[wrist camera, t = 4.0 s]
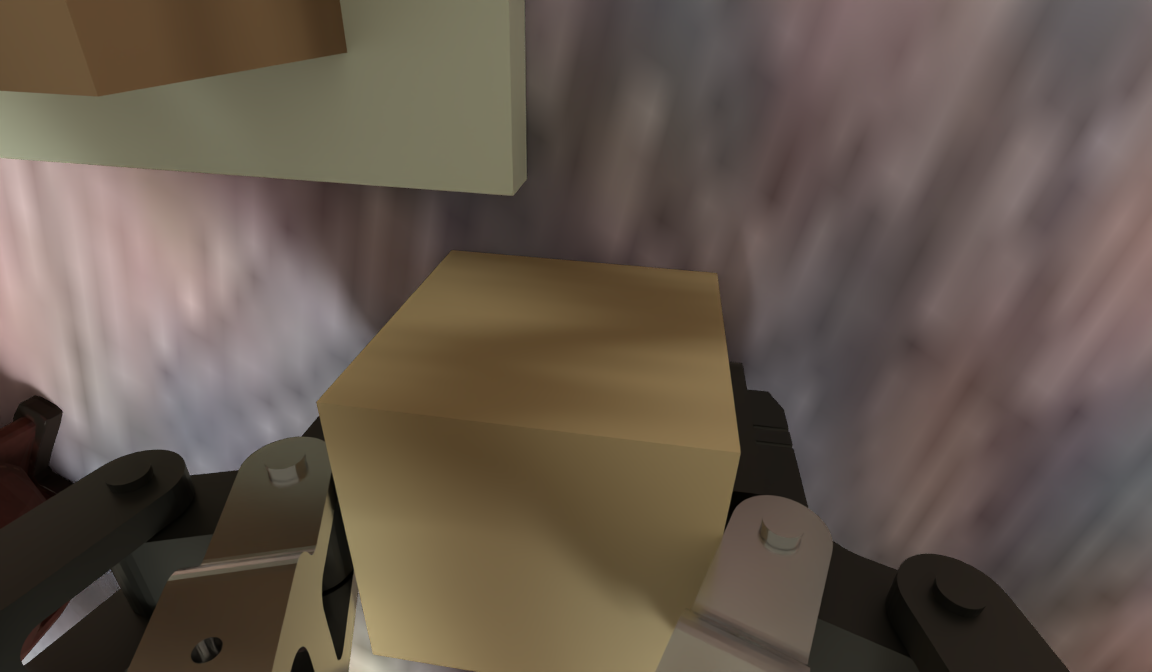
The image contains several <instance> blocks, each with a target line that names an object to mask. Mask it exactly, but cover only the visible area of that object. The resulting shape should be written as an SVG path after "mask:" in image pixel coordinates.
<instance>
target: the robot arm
mask: <svg viewBox="0 0 1152 672" xmlns="http://www.w3.org/2000/svg"><path fill="white" fill-rule="evenodd" d="M729 367H730V375H731V382H732V390H733V397H734V405H735V413H736V420H737V428H738V435H739V443H740V451H741V454H740V459H739V464H738V468H737V473H736V478H735V482H734V487H733V492H732V496H731V501H730V506H729V510H728V515H727V519H726V524H725V529H724V533H723V537H722V539H721V541H720V544H719V546H718V548H717V551H716V553H715V555H714V558H713V560H712V562H711V564H710V567H709V569H708V571H707V574H706V576H705V578H704V581H703V583H702V585H701V588H700V590H699V592H698V594H697V597H696V599H695V601H694V604H693V606H692V608H691V609H690V610H689V609H687V608H686V609H685V610H684V611H683V613H682V614H681V616H680V618H679V620H678V622H677V624H676V626H675V629H674V631H673V633H672V635H671V638H670V640H669V642H668V644H667V647H666V649H665V651H664V653H663V656H662V658H661V660H660V662H659V665H658V667H657V669H656V671H655V672H1070V671H1069V670H1068V669H1067V668H1066V666H1065V665H1064V664H1063V663H1062V661H1061V660H1060V659H1059V658H1058V657H1057V655H1056V654H1055V653H1054V652H1053V650H1052V649H1051V648H1050V647H1049V645H1048V644H1047V643H1046V642H1045V641H1044V639H1043V638H1042V637H1041V636H1040V634H1039V633H1038V632H1037V631H1036V629H1035V628H1034V627H1033V626H1032V625H1031V623H1030V622H1029V621H1028V620H1027V618H1026V617H1025V616H1024V615H1023V613H1022V612H1021V611H1020V610H1019V609H1018V607H1017V606H1016V605H1015V604H1014V602H1013V601H1012V600H1011V599H1010V597H1009V596H1008V595H1007V594H1006V593H1005V592H1004V591H1003V589H1002V588H1001V587H1000V586H999V585H998V584H996V583H995V582H994V581H993V580H992V579H991V578H989V577H988V576H986V575H985V574H984V573H982V572H981V571H979V570H977V569H976V568H974V567H972V566H970V565H968V564H966V563H964V562H962V561H959V560H957V559H954V558H951V557H947V556H943V555H937V554H920V555H915V556H912V557H910V558H908V559H906V560H905V561H904V562H903V563H902V564H901V565H900V567H899V570H895V569H893V568H890V567H887V566H885V565H882V564H880V563H877V562H874V561H872V560H869V559H866V558H864V557H861V556H859V555H857V554H854V553H852V552H850V551H848V550H846V549H845V548H843V547H841V546H840V545H838V544H837V543H835V542H834V541H833V540H832V536H831V534H830V531H829V529H828V528H827V526H826V524H825V523H824V522H823V521H822V520H821V518H820V517H819V516H817V515H816V514H815V513H814V512H813V511H811V510H810V509H809V508H808V505H807V501H806V497H805V493H804V489H803V485H802V481H801V477H800V473H799V469H798V465H797V461H796V457H795V453H794V449H793V448H792V441H791V437H790V433H789V432H788V425H787V421H786V417H785V413H784V409H783V408H782V407H781V406H780V405H779V404H778V402H777V401H776V400H775V399H774V398H773V397H772V396H771V394H770V393H769V392H765V391H756V390H747V387H746V381H745V375H744V369H743V365H742V363H736V362H729ZM110 569H111V570H112V572H113V574H114V576H115V578H116V580H117V582H118V584H119V586H120V588H121V589H119V590H118V591H117V592H116V593H114V594H113V595H112V596H111V597H109V598H108V599H107V600H106V601H104V602H103V603H102V604H101V605H99V606H98V607H97V608H96V609H94V610H93V611H92V612H91V613H90V614H88V615H87V616H86V617H85V618H83V619H82V620H81V621H80V622H78V623H77V624H76V625H75V626H73V627H72V628H71V629H70V630H68V631H67V632H66V633H65V634H63V635H62V636H61V637H60V638H58V639H57V640H56V641H55V642H53V643H52V644H51V645H50V646H48V647H47V648H46V649H45V650H43V651H42V652H41V653H40V654H38V655H37V656H36V657H35V658H33V659H32V660H31V661H30V662H28V663H27V664H25V665H23V664H22V662H21V658H20V654H21V649H22V646H23V644H24V642H25V640H26V638H27V637H28V635H29V634H30V633H31V632H32V630H33V629H34V628H35V627H36V626H37V625H38V624H39V623H41V622H42V621H43V620H44V619H46V618H47V617H48V616H50V615H51V614H52V613H54V612H55V611H56V610H57V609H59V608H60V607H61V606H63V605H64V604H65V603H67V602H68V601H69V600H71V599H72V598H73V597H74V596H76V595H77V594H78V593H80V592H81V591H82V590H84V589H85V588H86V587H88V586H89V585H90V584H92V583H93V582H94V581H95V580H97V579H98V578H99V577H101V576H102V575H103V574H105V573H106V572H107V571H109V570H110ZM357 597H358V585H357V581H356V576H355V572H354V567H353V563H352V558H351V554H350V550H349V545H348V541H347V536H346V532H345V527H344V523H343V518H342V514H341V510H340V505H339V501H338V496H337V492H336V487H335V483H334V478H333V474H332V470H331V465H330V461H329V456H328V452H327V447H326V443H325V438H324V434H323V430H322V425H321V421H320V416H319V417H318V418H317V419H316V420H315V421H314V423H313V424H312V425H311V426H310V427H309V428H308V430H307V431H306V432H305V433H304V434H303V435H302V437H292V438H286V439H282V440H278V441H275V442H273V443H270V444H268V445H266V446H264V447H262V448H260V449H258V450H257V451H255V452H254V453H253V454H251V455H250V456H249V457H248V458H247V459H246V460H245V461H244V462H243V464H242V465H241V467H240V469H239V470H236V471H228V472H218V473H209V474H200V475H189V472H188V469H187V467H186V464H185V462H184V460H183V458H182V457H181V456H180V455H179V454H177V453H175V452H172V451H168V450H146V451H141V452H136V453H132V454H129V455H125V456H123V457H120V458H117V459H115V460H113V461H111V462H109V463H107V464H105V465H103V466H102V467H100V468H98V469H97V470H95V471H93V472H92V473H90V474H89V475H87V476H85V477H84V478H82V479H80V480H79V481H77V482H76V483H74V484H72V485H71V486H69V487H68V488H66V489H64V490H63V491H61V492H59V493H58V494H56V495H55V496H53V497H51V498H50V499H48V500H47V501H45V502H43V503H42V504H40V505H38V506H37V507H35V508H34V509H32V510H30V511H29V512H27V513H26V514H24V515H22V516H21V517H19V518H17V519H16V520H14V521H13V522H11V523H9V524H8V525H6V526H5V527H3V528H1V529H0V672H349V663H350V655H351V647H352V638H353V630H354V622H355V613H356V605H357Z"/></svg>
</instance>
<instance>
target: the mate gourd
mask: <svg viewBox="0 0 1152 672" xmlns="http://www.w3.org/2000/svg"><path fill="white" fill-rule="evenodd" d="M61 418H62V411H61V410H60V409H59V408H58V407H57V406H56V405H54V404H52V403H50V402H49V401H47V400H45V399H44V398H42V397H39V396H33V397H32V398H30V399H28V400H26V401H24V402H22V403H20V404H19V406H18V408H17V410H16V412H15V414H14V418H13V422H12V423H10V424H8V425H6V426H4V427H2V428H1V429H0V529H1V528H3V527H5V526H6V525H8V524H9V523H11V522H13V521H14V520H16V519H17V518H19V517H21V516H22V515H24V514H26V513H27V512H29V511H30V510H32V509H34V508H35V507H37V506H38V505H40V504H42V503H43V502H45V501H47V500H48V499H50V498H51V497H53V496H55V495H56V494H58V493H59V492H61V491H63V490H64V489H66V488H68V487H69V486H71V485H72V484H73V483H71V482H70V481H68V480H66V479H64V478H63V477H61V476H59V475H58V474H56V473H54V472H53V471H52V470H51V468H50V467H49V466H48V465H49V461H50V456H51V452H52V449H53V446H54V443H55V439H56V436H57V433H58V430H59V426H60V423H61ZM69 602H70V600H69V601H68V602H67V603H65V604H64V605H63V606H61V607H60V608H59V609H57V610H56V611H55V612H54V613H52V614H51V615H50V616H48V617H47V618H46V619H44V620H43V621H42V622H41V623H39V624H38V625H37V626H36V627H35V628H34V629H33V630H32V632H31V633H30V634H29V635H28V637H27V638H26V640H25V642H24V644H23V646H22V649H21V654H20V658H21V661H22V660H23V659H24V658H25V657H26V655H27V654H28V653H29V652H30V651H31V650H32V648H33V647H34V646H35V645H36V644H37V643H38V641H39V640H40V639H41V638H42V637H43V636H44V634H45V633H46V632H47V631H48V630H49V628H50V627H51V626H52V625H53V624H54V623H55V621H56V620H57V619H58V618H59V617H60V616H61V614H62V612H63V611H64V609H65V608H66V606H67V605H68V603H69Z"/></svg>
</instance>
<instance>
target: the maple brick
mask: <svg viewBox="0 0 1152 672" xmlns="http://www.w3.org/2000/svg"><path fill="white" fill-rule="evenodd" d="M316 403H317V407H318V412H319V416H320V421H321V425H322V430H323V434H324V438H325V443H326V447H327V452H328V456H329V461H330V465H331V470H332V474H333V478H334V483H335V487H336V492H337V496H338V501H339V505H340V510H341V514H342V518H343V523H344V527H345V532H346V536H347V541H348V545H349V550H350V554H351V558H352V563H353V567H354V572H355V576H356V581H357V585H358V590H359V594H360V598H361V603H362V607H363V612H364V616H365V621H366V625H367V630H368V634H369V638H370V643H371V647H372V652H373V654H374V655H380V656H386V657H392V658H398V659H404V660H410V661H416V662H422V663H428V664H434V665H439V666H445V667H451V668H457V669H463V670H469V671H475V672H655V671H656V669H657V667H658V665H659V662H660V660H661V658H662V656H663V653H664V651H665V649H666V647H667V644H668V642H669V640H670V638H671V635H672V633H673V631H674V629H675V626H676V624H677V622H678V620H679V618H680V616H681V614H682V613H683V611H684V610H685V609H686V608H687V609H689V610H690V609H691V608H692V606H693V604H694V601H695V599H696V597H697V594H698V592H699V590H700V588H701V585H702V583H703V581H704V578H705V576H706V574H707V571H708V569H709V567H710V564H711V562H712V560H713V558H714V555H715V553H716V551H717V548H718V546H719V544H720V541H721V539H722V537H723V533H724V529H725V524H726V519H727V515H728V510H729V506H730V501H731V496H732V492H733V487H734V482H735V478H736V473H737V468H738V464H739V459H740V454H741V451H740V443H739V435H738V428H737V420H736V413H735V405H734V397H733V390H732V382H731V375H730V367H729V359H728V352H727V344H726V337H725V329H724V321H723V314H722V306H721V299H720V291H719V284H718V276H717V273H710V272H699V271H687V270H676V269H664V268H653V267H641V266H630V265H618V264H607V263H595V262H584V261H572V260H561V259H549V258H538V257H526V256H515V255H503V254H492V253H480V252H468V251H457V250H451V251H450V253H449V254H448V255H447V256H446V257H445V258H444V259H443V260H442V262H441V263H440V264H439V265H438V266H437V267H436V268H435V269H434V271H433V272H432V273H431V274H430V275H429V276H428V277H427V278H426V280H425V281H424V282H423V283H422V284H421V285H420V286H419V287H418V289H417V290H416V291H415V292H414V293H413V294H412V295H411V296H410V298H409V299H408V300H407V301H406V302H405V303H404V304H403V305H402V306H401V308H400V309H399V310H398V311H397V312H396V313H395V314H394V315H393V317H392V318H391V319H390V320H389V321H388V322H387V323H386V324H385V326H384V327H383V328H382V329H381V330H380V331H379V332H378V333H377V335H376V336H375V337H374V338H373V339H372V340H371V341H370V342H369V344H368V345H367V346H366V347H365V348H364V349H363V350H362V351H361V353H360V354H359V355H358V356H357V357H356V358H355V359H354V360H353V362H352V363H351V364H350V365H349V366H348V367H347V368H346V369H345V371H344V372H343V373H342V374H341V375H340V376H339V377H338V378H337V380H336V381H335V382H334V383H333V384H332V385H331V386H330V387H329V388H328V390H327V391H326V392H325V393H324V394H323V395H322V396H321V397H320V399H319V400H318V401H317V402H316Z"/></svg>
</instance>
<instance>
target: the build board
mask: <svg viewBox="0 0 1152 672" xmlns="http://www.w3.org/2000/svg"><path fill="white" fill-rule="evenodd" d="M340 5H341V12H342V19H343V26H344V33H345V40H346V47H347V53H342V54H337V55H331V56H325V57H320V58H314V59H308V60H303V61H297V62H291V63H286V64H280V65H274V66H269V67H263V68H257V69H252V70H246V71H240V72H235V73H229V74H223V75H218V76H212V77H206V78H201V79H195V80H189V81H184V82H178V83H172V84H167V85H161V86H155V87H150V88H144V89H138V90H133V91H127V92H121V93H116V94H110V95H104V96H99V97H97V96H80V95H63V94H46V93H29V92H12V91H0V158H7V159H21V160H35V161H48V162H62V163H75V164H89V165H102V166H116V167H129V168H143V169H157V170H170V171H184V172H197V173H211V174H224V175H238V176H252V177H265V178H279V179H292V180H306V181H319V182H333V183H347V184H360V185H374V186H387V187H401V188H414V189H428V190H441V191H455V192H469V193H482V194H496V195H509V196H513V195H514V194H515V193H516V192H517V191H518V189H519V188H520V187H521V186H522V185H523V183H524V182H525V181H526V180H527V151H526V66H525V0H340Z"/></svg>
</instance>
